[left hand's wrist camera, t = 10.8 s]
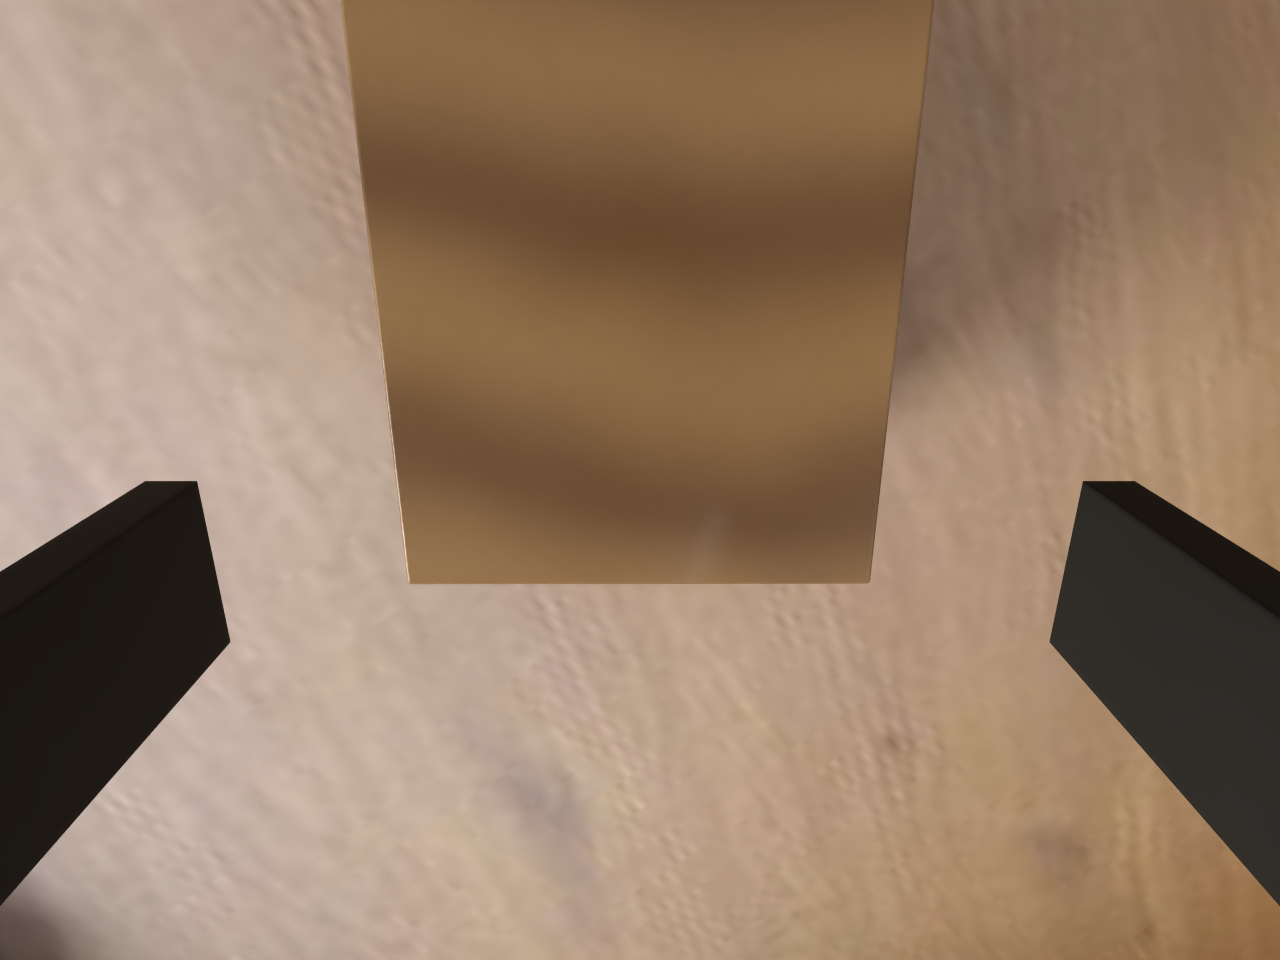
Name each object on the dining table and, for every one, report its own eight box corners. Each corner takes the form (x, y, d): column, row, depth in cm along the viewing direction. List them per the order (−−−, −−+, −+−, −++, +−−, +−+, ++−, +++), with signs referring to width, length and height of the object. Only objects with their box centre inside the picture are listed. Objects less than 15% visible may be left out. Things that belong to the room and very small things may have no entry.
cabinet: (445, -123, 24) (298, -346, 14) (831, -124, 24) (974, -347, 14) (486, 445, 30) (407, 585, 20) (792, 444, 30) (870, 584, 20)
